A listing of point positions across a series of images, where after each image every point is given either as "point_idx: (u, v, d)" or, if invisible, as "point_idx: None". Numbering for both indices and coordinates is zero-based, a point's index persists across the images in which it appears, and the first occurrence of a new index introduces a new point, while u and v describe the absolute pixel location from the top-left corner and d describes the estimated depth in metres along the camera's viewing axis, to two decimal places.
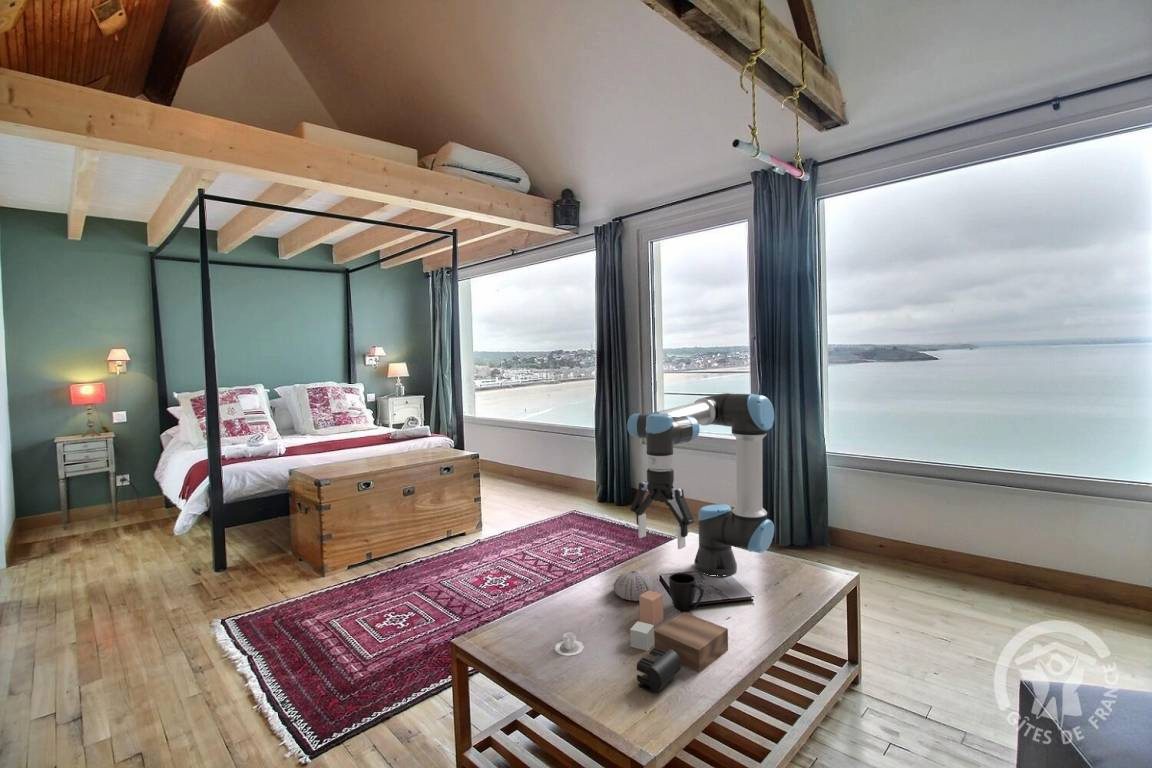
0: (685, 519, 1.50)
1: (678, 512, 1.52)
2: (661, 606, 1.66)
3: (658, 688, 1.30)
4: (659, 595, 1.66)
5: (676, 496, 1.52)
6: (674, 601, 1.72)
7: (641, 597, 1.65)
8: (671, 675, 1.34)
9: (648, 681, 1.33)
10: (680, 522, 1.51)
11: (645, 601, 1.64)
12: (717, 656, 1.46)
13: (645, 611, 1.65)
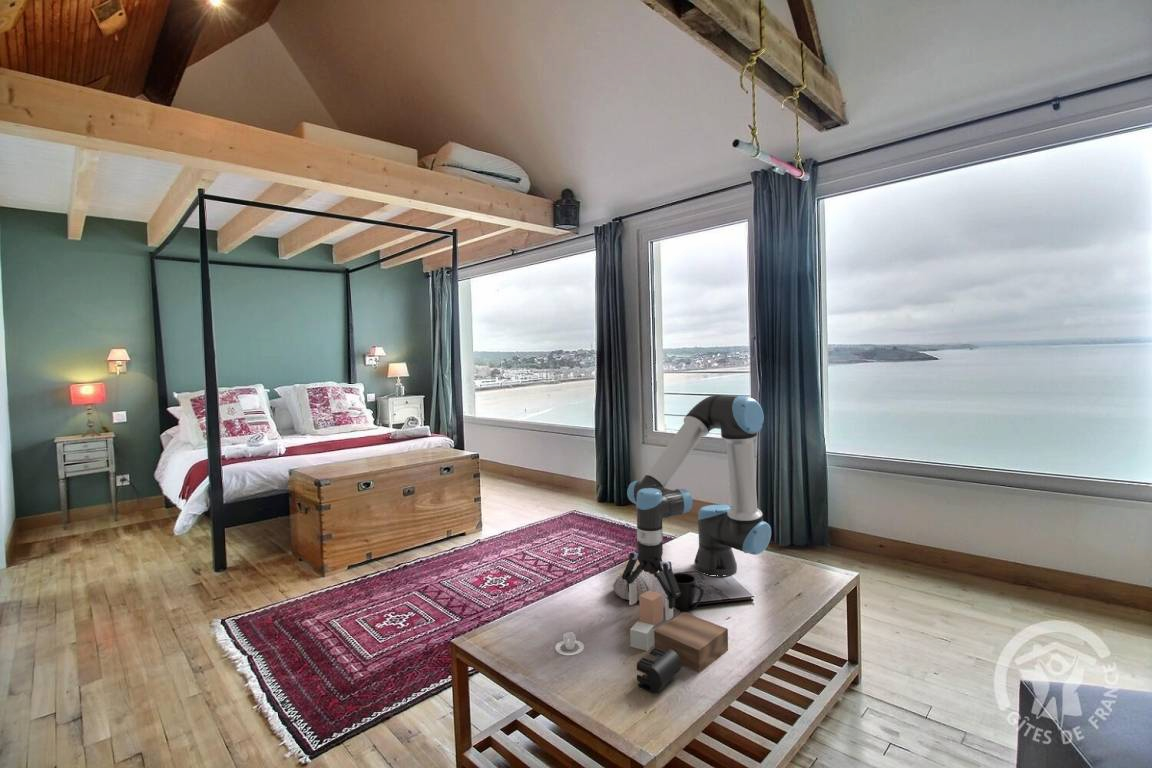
0: (672, 592, 1.58)
1: (666, 585, 1.61)
2: (661, 606, 1.66)
3: (658, 688, 1.30)
4: (659, 595, 1.66)
5: (664, 570, 1.60)
6: None
7: (641, 597, 1.65)
8: (671, 675, 1.34)
9: (648, 681, 1.33)
10: (668, 595, 1.59)
11: (644, 601, 1.64)
12: (717, 656, 1.46)
13: (645, 611, 1.65)
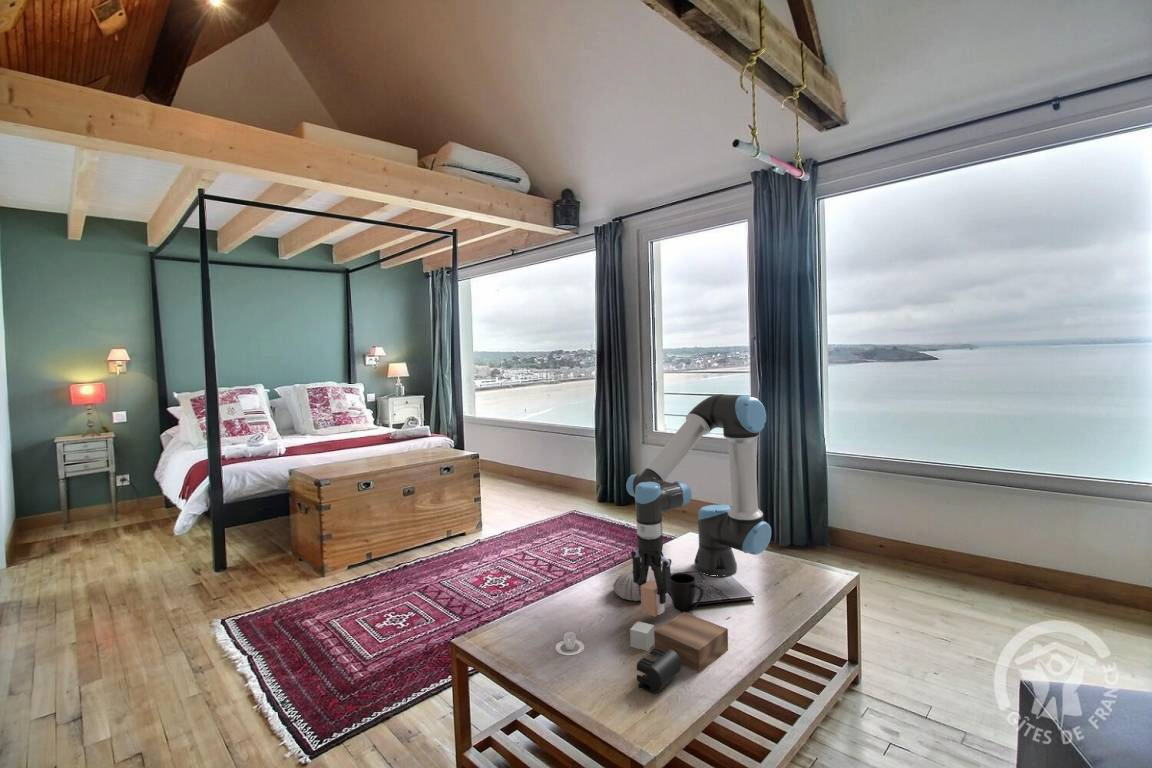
0: (664, 588, 1.61)
1: (660, 581, 1.63)
2: None
3: (658, 688, 1.30)
4: None
5: (663, 566, 1.61)
6: (674, 601, 1.72)
7: (642, 587, 1.65)
8: (671, 675, 1.34)
9: (648, 681, 1.33)
10: (659, 590, 1.62)
11: (646, 592, 1.65)
12: (717, 656, 1.46)
13: (646, 601, 1.65)
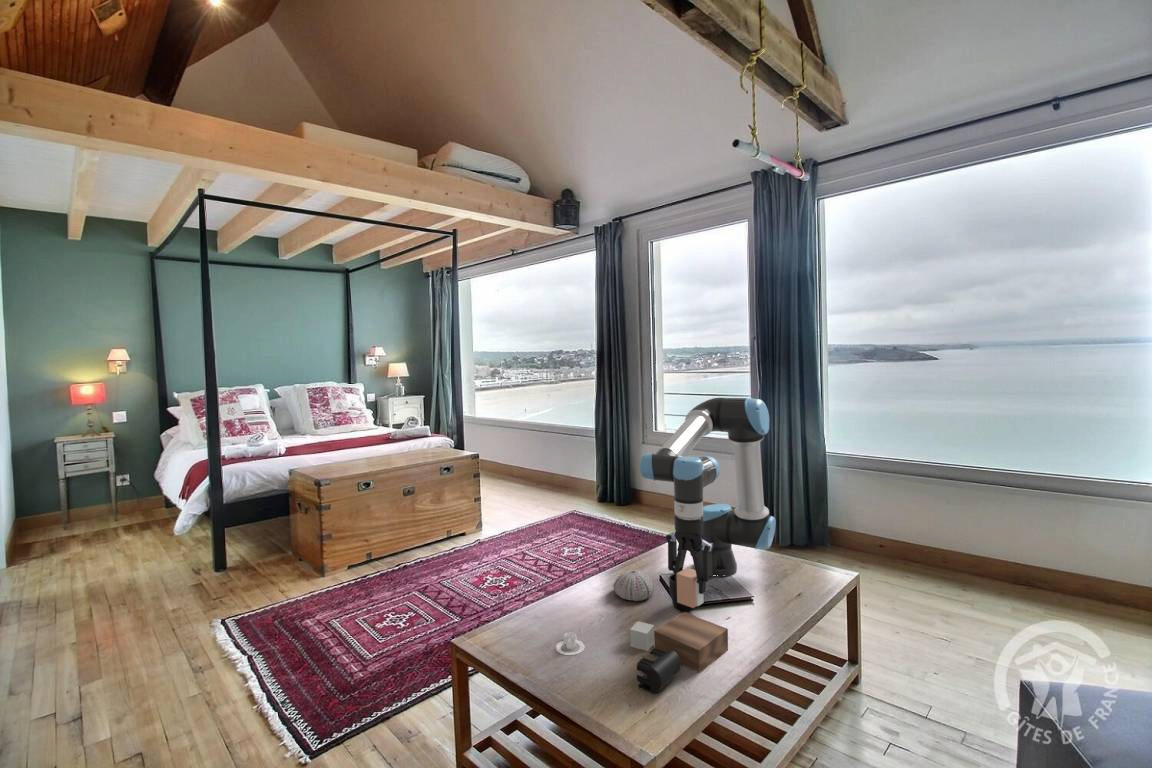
0: (705, 575, 1.43)
1: (700, 568, 1.45)
2: None
3: (658, 688, 1.30)
4: None
5: (704, 551, 1.43)
6: (674, 601, 1.72)
7: (679, 575, 1.47)
8: (671, 675, 1.34)
9: (648, 681, 1.33)
10: (698, 578, 1.44)
11: (683, 580, 1.46)
12: (717, 656, 1.46)
13: (683, 590, 1.47)
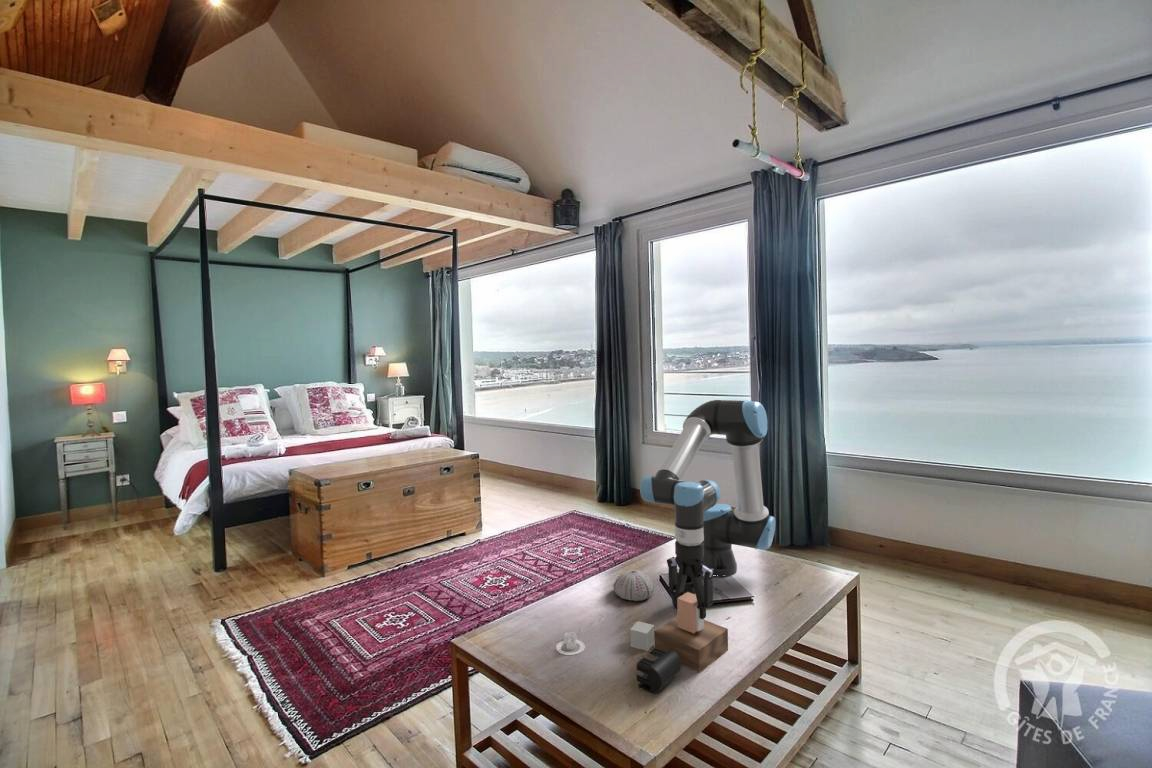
0: (705, 601, 1.44)
1: (700, 593, 1.45)
2: None
3: (658, 688, 1.30)
4: None
5: (705, 577, 1.43)
6: (674, 601, 1.72)
7: (679, 600, 1.48)
8: (671, 675, 1.34)
9: (648, 681, 1.33)
10: (699, 603, 1.45)
11: (684, 605, 1.47)
12: (717, 656, 1.46)
13: (684, 615, 1.47)
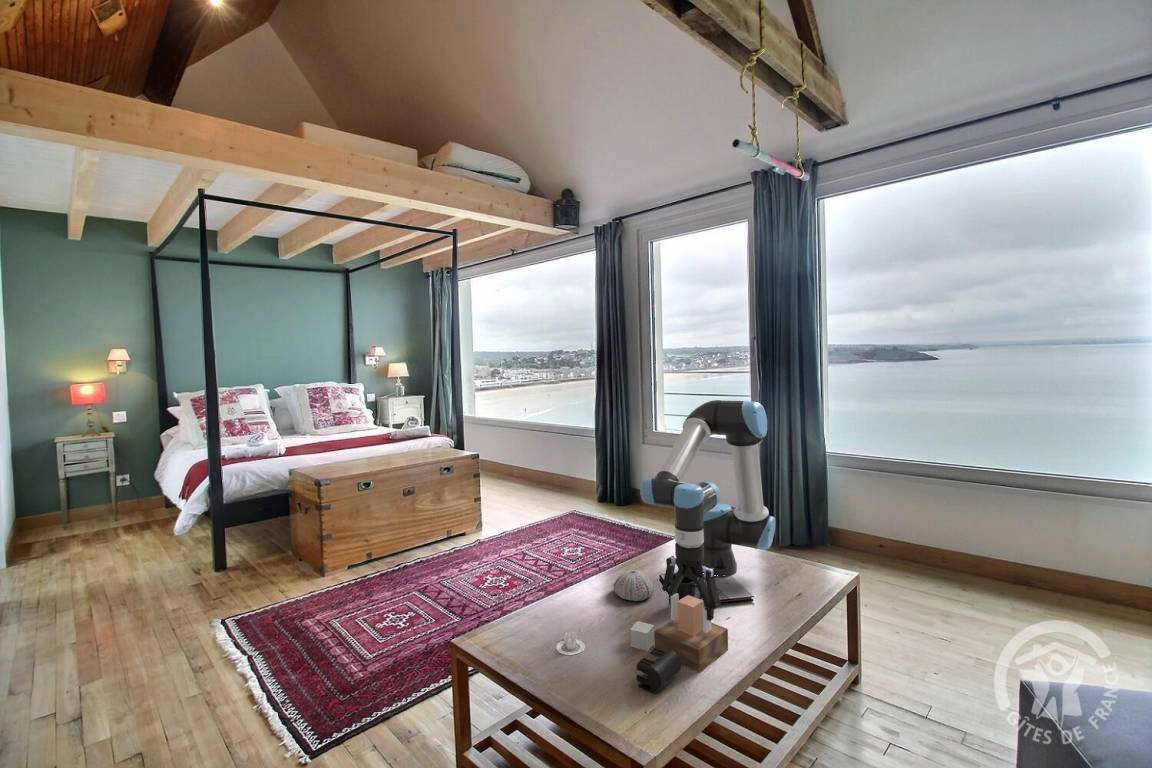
0: (712, 602, 1.42)
1: (706, 594, 1.44)
2: (702, 613, 1.48)
3: (658, 688, 1.30)
4: (700, 601, 1.48)
5: (706, 577, 1.43)
6: None
7: (679, 603, 1.48)
8: (671, 675, 1.34)
9: (648, 681, 1.33)
10: (706, 605, 1.43)
11: (684, 608, 1.47)
12: (717, 656, 1.46)
13: (684, 618, 1.47)
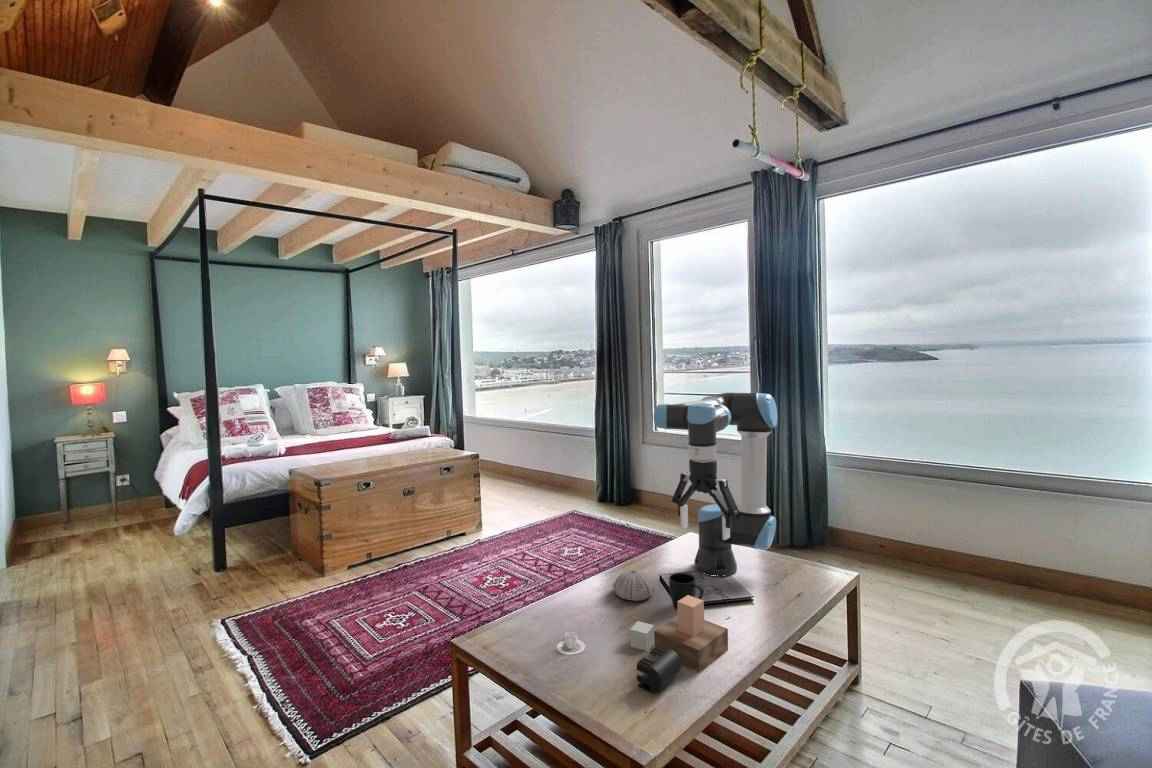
0: (730, 510, 1.48)
1: (722, 503, 1.50)
2: (702, 613, 1.48)
3: (658, 688, 1.30)
4: (700, 601, 1.48)
5: (720, 487, 1.49)
6: (674, 601, 1.72)
7: (679, 603, 1.48)
8: (671, 675, 1.34)
9: (648, 681, 1.33)
10: (725, 513, 1.49)
11: (684, 608, 1.47)
12: (717, 656, 1.46)
13: (684, 618, 1.47)
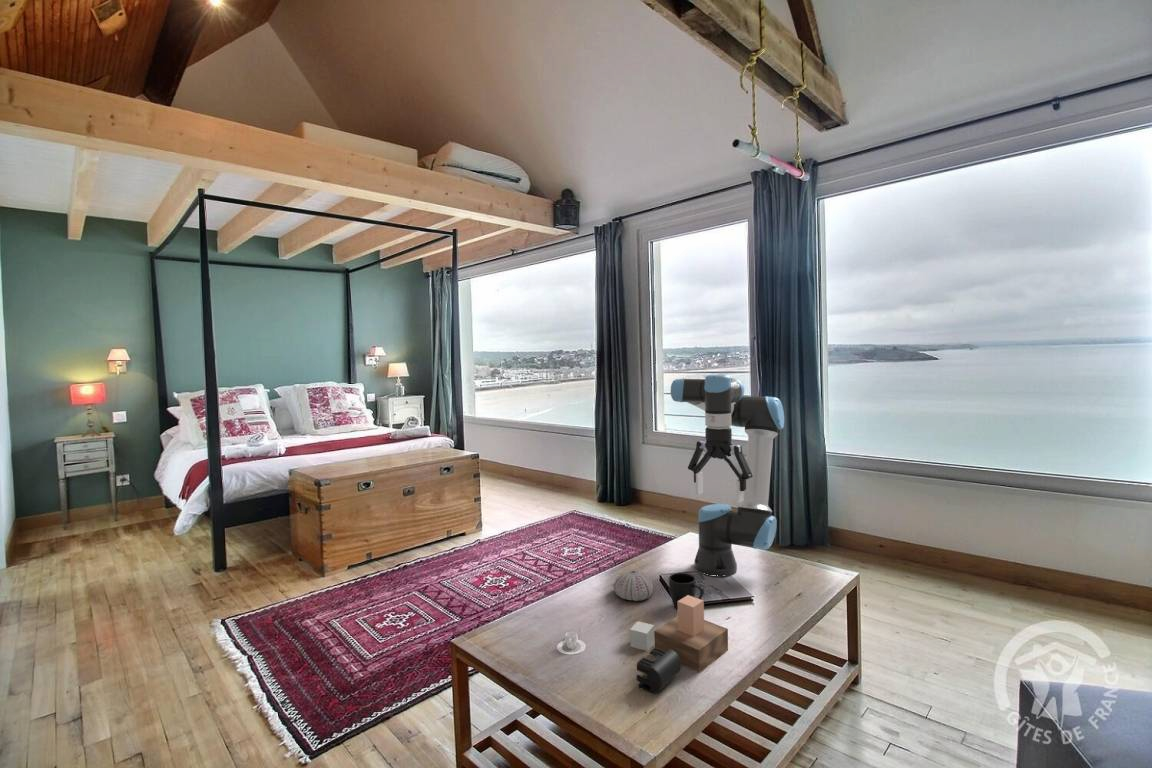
0: (744, 473, 1.57)
1: (737, 468, 1.60)
2: (702, 613, 1.48)
3: (658, 688, 1.30)
4: (700, 601, 1.48)
5: (735, 452, 1.59)
6: (674, 601, 1.72)
7: (679, 603, 1.48)
8: (671, 675, 1.34)
9: (648, 681, 1.33)
10: (739, 477, 1.58)
11: (684, 608, 1.47)
12: (717, 656, 1.46)
13: (684, 618, 1.47)
